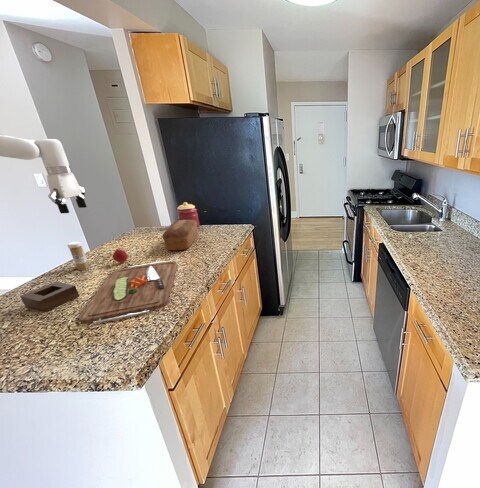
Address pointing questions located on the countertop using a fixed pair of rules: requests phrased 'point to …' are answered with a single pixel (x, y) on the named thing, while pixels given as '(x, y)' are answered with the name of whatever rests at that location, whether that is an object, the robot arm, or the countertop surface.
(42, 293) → the spice block
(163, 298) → the chopping board
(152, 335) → the countertop surface
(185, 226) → the bread
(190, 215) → the kitchen canister
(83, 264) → the sprinkles bottle
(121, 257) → the red rounded lump
